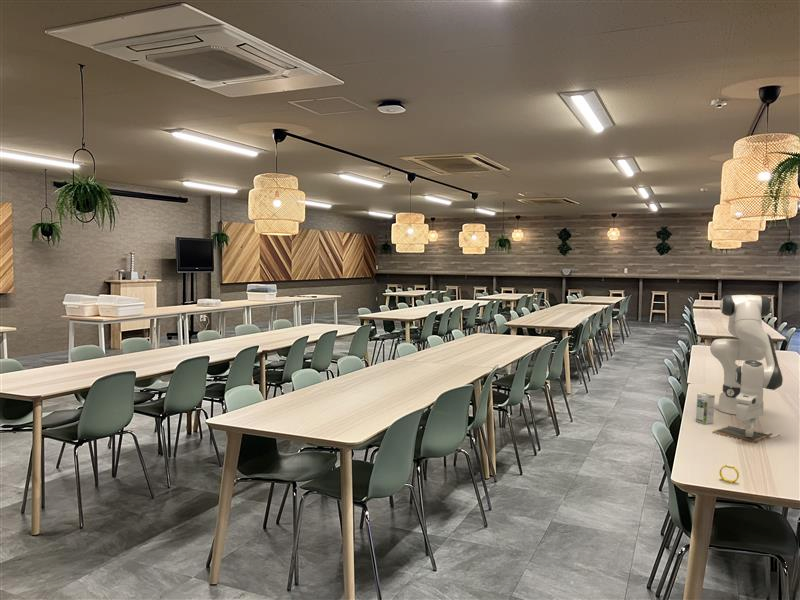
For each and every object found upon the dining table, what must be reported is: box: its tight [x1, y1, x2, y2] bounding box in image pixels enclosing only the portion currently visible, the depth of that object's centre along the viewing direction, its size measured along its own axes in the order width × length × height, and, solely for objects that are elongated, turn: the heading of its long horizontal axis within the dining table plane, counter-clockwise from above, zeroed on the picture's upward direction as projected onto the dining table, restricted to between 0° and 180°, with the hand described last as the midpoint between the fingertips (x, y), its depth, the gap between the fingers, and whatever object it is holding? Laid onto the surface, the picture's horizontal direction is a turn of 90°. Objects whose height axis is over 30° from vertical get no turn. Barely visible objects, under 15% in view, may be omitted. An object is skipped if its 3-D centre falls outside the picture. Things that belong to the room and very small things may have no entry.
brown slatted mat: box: [712, 425, 770, 444], centre depth 269 cm, size 17×18×1 cm
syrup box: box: [695, 391, 716, 425], centre depth 289 cm, size 6×6×14 cm
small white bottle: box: [744, 419, 756, 437], centre depth 262 cm, size 3×3×8 cm
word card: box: [763, 431, 779, 439], centre depth 269 cm, size 8×5×1 cm, turn 128°
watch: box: [718, 463, 740, 483], centre depth 209 cm, size 6×3×6 cm, turn 50°
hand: (749, 427), depth 262 cm, fingers closed on small white bottle, 3 cm apart
